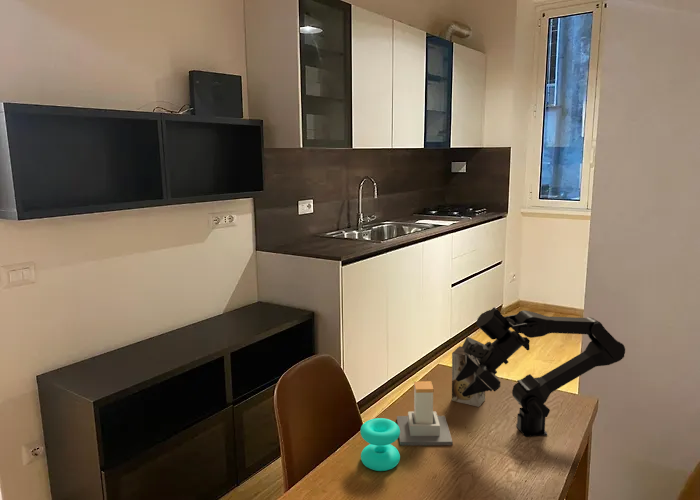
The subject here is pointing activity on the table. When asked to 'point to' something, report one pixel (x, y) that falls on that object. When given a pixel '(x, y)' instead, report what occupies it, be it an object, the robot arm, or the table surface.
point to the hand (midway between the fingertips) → (459, 387)
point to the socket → (424, 431)
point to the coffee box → (463, 381)
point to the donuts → (380, 444)
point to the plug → (423, 402)
